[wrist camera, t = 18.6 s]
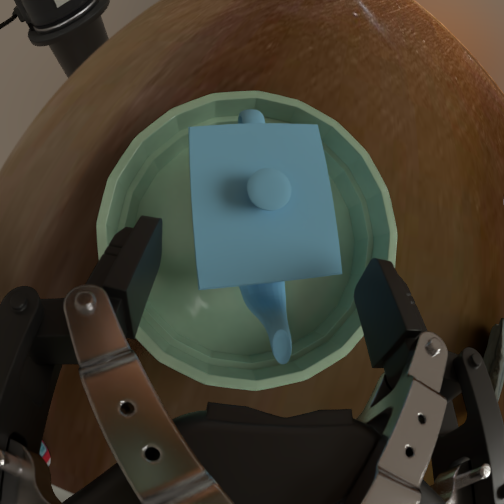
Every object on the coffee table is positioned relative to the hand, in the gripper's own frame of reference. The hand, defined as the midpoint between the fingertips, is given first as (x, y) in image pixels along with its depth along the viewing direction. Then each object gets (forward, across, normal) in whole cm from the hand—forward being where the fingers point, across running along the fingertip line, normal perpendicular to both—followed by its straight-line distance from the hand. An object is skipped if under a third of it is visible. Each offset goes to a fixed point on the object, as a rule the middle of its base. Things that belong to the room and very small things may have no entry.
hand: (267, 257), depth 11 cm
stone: (+1, -27, +11) cm, 29 cm away
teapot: (+7, 0, +4) cm, 8 cm away
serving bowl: (+7, 0, +4) cm, 8 cm away
